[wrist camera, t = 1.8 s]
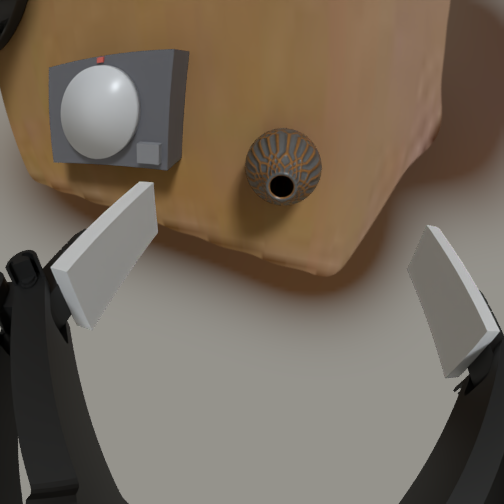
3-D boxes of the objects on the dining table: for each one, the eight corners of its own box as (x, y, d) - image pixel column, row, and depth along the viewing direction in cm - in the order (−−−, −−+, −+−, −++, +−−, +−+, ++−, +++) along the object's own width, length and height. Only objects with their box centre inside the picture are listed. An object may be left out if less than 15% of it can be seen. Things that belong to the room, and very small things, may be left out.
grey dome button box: (73, 151, 30) (48, 165, 26) (70, 64, 22) (43, 68, 18) (181, 158, 29) (163, 173, 25) (189, 51, 22) (169, 48, 18)
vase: (275, 110, 25) (269, 124, 18) (331, 149, 27) (346, 180, 20) (238, 162, 29) (219, 196, 22) (291, 197, 30) (290, 241, 23)
